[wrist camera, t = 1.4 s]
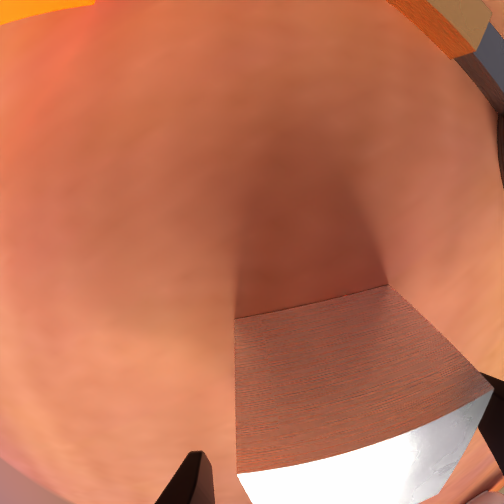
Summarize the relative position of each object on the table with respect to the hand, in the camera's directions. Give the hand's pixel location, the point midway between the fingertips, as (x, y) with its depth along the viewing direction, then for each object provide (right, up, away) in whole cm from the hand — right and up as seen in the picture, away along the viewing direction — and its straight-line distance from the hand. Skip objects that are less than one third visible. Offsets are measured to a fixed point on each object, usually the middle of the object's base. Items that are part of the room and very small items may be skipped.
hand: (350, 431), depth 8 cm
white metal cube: (0, +1, +3) cm, 4 cm away
